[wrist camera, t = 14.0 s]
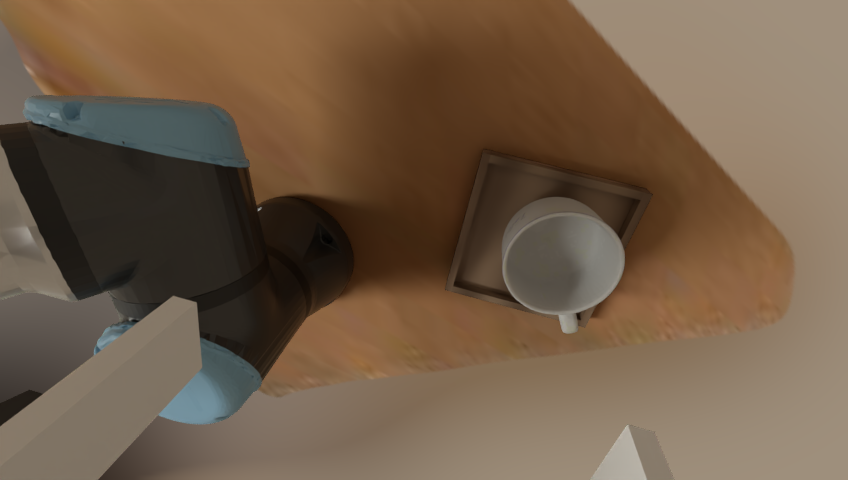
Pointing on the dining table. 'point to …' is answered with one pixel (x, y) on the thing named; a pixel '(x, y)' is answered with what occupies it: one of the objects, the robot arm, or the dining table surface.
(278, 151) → the dining table surface
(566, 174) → the shallow tray
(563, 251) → the teacup
